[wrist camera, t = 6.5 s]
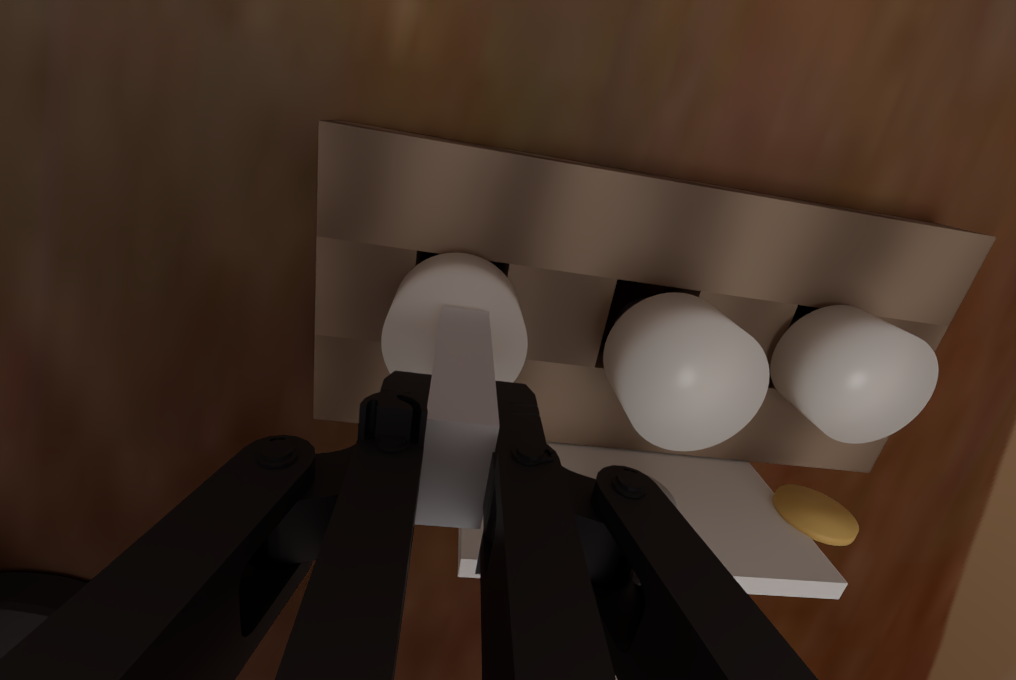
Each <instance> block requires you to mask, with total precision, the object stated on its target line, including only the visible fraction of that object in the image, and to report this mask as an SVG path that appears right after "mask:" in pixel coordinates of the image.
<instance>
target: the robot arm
mask: <svg viewBox="0 0 1016 680" xmlns="http://www.w3.org/2000/svg"><path fill="white" fill-rule="evenodd" d="M537 406H538V405H537V400H536V396H535V394H534V393H533V392H532V390H531V389H530V388H529V387H528V386H527V385H526V384H521V383H512V382H504V381H495V372H494V361H493V350H492V339H491V328H490V318H489V312H486V311H478V310H470V309H463V308H455V307H447V306H442V311H441V318H440V324H439V331H438V338H437V344H436V351H435V358H434V364H433V371H432V375H430V374H421V373H413V372H404V371H394V372H392V373H391V374H390V375H388V376H387V377H386V378H384V380H383V383H382V386H381V389H380V392H378V393H374V394H372V395H370V396H368V397H366V398H364V400H363V401H362V402H361V403H360V409H359V426H358V440H357V443H356V444H355V445H353V446H351V447H349V448H346V449H344V450H340V451H335V452H329V453H320V454H315V450H314V447H313V446H312V445H311V444H310V443H309V442H308V441H306V440H304V439H302V438H299V437H296V436H288V435H278V436H269V437H266V438H262V439H259V440H256V441H254V442H252V443H251V444H249V445H248V446H246V447H244V448H243V449H242V450H241V451H240V452H239V453H237V454H236V455H235V456H234V457H233V458H232V459H230V460H229V461H228V462H227V463H226V464H225V465H224V466H222V467H221V468H220V469H219V470H218V471H217V472H215V473H214V474H213V475H212V476H211V477H210V478H209V479H207V480H206V481H205V482H204V483H203V484H202V485H200V486H199V487H198V488H197V489H196V490H195V491H194V492H192V493H191V494H190V495H189V496H188V497H187V498H185V499H184V500H183V501H182V502H181V503H180V504H179V505H177V506H176V507H175V508H174V509H173V510H172V511H170V512H169V513H168V514H167V515H166V516H165V517H164V518H162V519H161V520H160V521H159V522H158V523H157V524H155V525H154V526H153V527H152V528H151V529H150V530H148V531H147V532H146V533H145V534H144V535H143V536H142V537H140V538H139V539H138V540H137V541H136V542H135V543H133V544H132V545H131V546H130V547H129V548H128V549H127V550H125V551H124V552H123V553H122V554H121V555H120V556H118V557H117V558H116V559H115V560H114V561H113V562H112V563H110V564H109V565H108V566H107V567H106V568H105V569H103V570H102V571H101V572H100V573H99V574H98V575H97V576H95V577H94V578H93V579H92V580H91V581H90V582H88V583H86V582H83V581H79V580H75V579H71V578H66V577H61V576H56V575H49V574H41V573H29V572H4V573H0V680H235V678H236V677H237V676H238V674H239V673H240V671H241V670H242V668H243V667H244V665H245V664H246V662H247V661H248V659H249V658H250V656H251V655H252V653H253V652H254V650H255V649H256V647H257V646H258V644H259V643H260V642H261V640H262V639H263V637H264V636H265V634H266V633H267V631H268V630H269V628H270V627H271V625H272V624H273V622H274V621H275V619H276V618H277V616H278V615H279V613H280V612H281V610H282V609H283V608H284V606H285V605H286V603H287V602H288V600H289V599H290V597H291V596H292V594H293V593H294V591H295V590H296V588H297V587H298V585H299V584H300V582H301V581H302V579H303V578H304V576H305V575H306V574H307V572H308V571H309V569H310V566H311V564H312V562H313V560H316V562H315V565H314V568H313V571H312V573H311V576H310V579H309V582H308V585H307V588H306V591H305V594H304V597H303V600H302V602H301V605H300V608H299V611H298V614H297V617H296V620H295V623H294V626H293V629H292V631H291V634H290V637H289V640H288V643H287V646H286V649H285V652H284V655H283V658H282V660H281V663H280V666H279V669H278V672H277V675H276V678H275V680H394V675H395V668H396V660H397V653H398V645H399V638H400V630H401V623H402V615H403V608H404V600H405V593H406V585H407V578H408V571H409V563H410V556H411V548H412V540H413V532H414V524H417V525H430V526H443V527H456V528H469V529H481V523H482V518H483V528H484V529H483V534H482V539H481V545H480V550H479V555H478V560H477V566H476V571H475V574H480V581H481V637H482V680H616V678H617V680H818V679H817V678H816V677H815V675H814V674H813V673H812V672H811V670H810V669H809V668H808V667H807V666H806V664H805V663H804V662H803V661H802V660H801V658H800V657H799V656H798V655H797V653H796V652H795V651H794V650H793V649H792V647H791V646H790V645H789V644H788V643H787V641H786V640H785V639H784V638H783V637H782V635H781V634H780V633H779V632H778V630H777V629H776V628H775V627H774V626H773V624H772V623H771V622H770V621H769V620H768V618H767V617H766V616H765V615H764V613H763V612H762V611H761V610H760V609H759V607H758V606H757V605H756V604H755V603H754V601H753V600H752V599H751V598H750V597H749V595H748V594H747V593H746V592H745V590H744V589H743V588H742V587H741V586H740V584H739V583H738V582H737V581H736V580H735V578H734V577H733V576H732V575H731V573H730V572H729V571H728V570H727V569H726V567H725V566H724V565H723V564H722V563H721V561H720V560H719V559H718V558H717V557H716V555H715V554H714V553H713V552H712V550H711V549H710V548H709V547H708V546H707V544H706V543H705V542H704V541H703V540H702V538H701V537H700V536H699V535H698V533H697V532H696V531H695V530H694V529H693V527H692V526H691V525H690V524H689V523H688V521H687V520H686V519H685V518H684V517H683V515H682V514H681V513H680V512H679V510H678V509H677V508H676V507H675V506H674V504H673V503H672V502H671V501H670V500H669V498H668V497H667V496H666V495H665V493H664V492H663V491H662V490H661V489H660V487H659V486H658V485H657V484H656V483H655V482H654V481H653V480H652V479H651V478H650V477H649V476H647V475H645V474H644V473H642V472H640V471H638V470H636V469H633V468H630V467H626V466H618V465H612V466H607V467H604V468H602V469H601V470H600V471H599V472H598V474H597V477H596V479H594V478H591V477H587V476H584V475H581V474H578V473H575V472H573V471H570V470H568V469H566V468H565V467H563V466H561V462H560V458H559V456H558V455H557V453H556V451H555V450H554V449H552V448H551V447H550V446H549V445H548V444H546V439H545V435H544V431H543V426H542V422H541V418H540V413H539V409H538V407H537ZM615 676H616V677H615Z"/></svg>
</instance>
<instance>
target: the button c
mask: <svg viewBox="0 0 1016 680" xmlns="http://www.w3.org/2000/svg"><path fill="white" fill-rule="evenodd" d="M770 373H771V379H772V382H773V384H774V387H775V388H776V390H777V391H778V392H779V393H780V394H781V395H782V396H783V397H784V398H785V399H786V400H787V401H788V402H790V403H791V404H792V405H793V406H794V407H795V408H796V409H797V410H799V411H800V412H801V413H802V414H803V415H804V416H805V417H806V418H808V419H809V420H810V421H811V422H812V423H813V424H814V425H816V426H817V427H818V428H819V429H820V430H821V431H822V432H823V433H825V434H826V435H827V436H829V437H830V438H832V439H834V440H837V441H840V442H844V443H851V444H859V443H867V442H872V441H876V440H879V439H882V438H884V437H887V436H889V435H891V434H893V433H895V432H896V431H898V430H900V429H901V428H903V427H904V426H905V425H907V424H908V423H909V422H910V421H912V420H913V419H914V418H915V417H916V416H917V415H918V414H919V413H920V412H921V411H922V409H923V408H924V407H925V405H926V404H927V402H928V401H929V399H930V398H931V396H932V394H933V391H934V389H935V386H936V383H937V378H938V362H937V358H936V355H935V353H934V351H933V350H932V348H931V347H930V346H929V345H928V344H927V343H926V342H925V341H924V340H922V339H920V338H919V337H917V336H915V335H912V334H910V333H908V332H906V331H904V330H902V329H900V328H898V327H896V326H894V325H892V324H890V323H888V322H886V321H884V320H882V319H880V318H878V317H876V316H873V315H871V314H869V313H867V312H865V311H863V310H861V309H859V308H856V307H853V306H849V305H832V306H827V307H823V308H820V309H817V310H815V311H812V312H810V313H809V314H807V313H806V312H804V311H802V310H800V309H796V311H795V314H794V316H793V319H792V321H791V324H790V326H789V329H788V330H787V331H786V332H785V333H784V335H783V336H782V337H781V339H780V340H779V342H778V343H777V345H776V347H775V350H774V352H773V355H772V359H771V365H770Z"/></svg>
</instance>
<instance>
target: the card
mask: <svg viewBox="0 0 1016 680" xmlns="http://www.w3.org/2000/svg"><path fill="white" fill-rule="evenodd" d="M546 444H548V445H549V446H550V447H551V448H552V449H554V450H555V451H556V453H557V455H558V456H559V458H560V462H561V466H563V467H565V468H566V469H568V470H570V471H573V472H575V473H578V474H581V475H584V476H587V477H591V478H594V479H596V477H597V474H598V472H599V471H600V470H601V469H602V468H604V467H607V466H612V465H618V466H626V467H630V468H633V469H636V470H638V471H640V472H642V473H644V474H645V475H647V476H649V477H650V478H651V479H652V480H653V481H654V482H655V483H656V484H657V485H658V486H659V487H660V489H661V490H662V491H663V492H664V493H665V495H666V496H667V497H668V498H669V500H670V501H671V502H672V503H673V504H674V506H675V507H676V508H677V509H678V510H679V512H680V513H681V514H682V515H683V517H684V518H685V519H686V520H687V521H688V523H689V524H690V525H691V526H692V527H693V529H694V530H695V531H696V532H697V533H698V535H699V536H700V537H701V538H702V540H703V541H704V542H705V543H706V544H707V546H708V547H709V548H710V549H711V550H712V552H713V553H714V554H715V555H716V557H717V558H718V559H719V560H720V561H721V563H722V564H723V565H724V566H725V567H726V569H727V570H728V571H729V572H730V573H731V575H732V576H733V577H734V578H735V580H736V581H737V582H738V583H739V584H740V586H741V587H742V588H743V589H744V590H745V592H746V593H747V594H758V595H775V596H792V597H809V598H826V599H839V598H840V596H841V595H842V593H843V591H844V589H845V588H846V586H847V584H848V583H847V582H846V580H845V579H844V578H843V577H842V576H841V574H840V573H839V572H838V571H837V569H836V568H835V567H834V566H833V565H832V563H831V562H830V561H829V560H828V558H827V557H826V556H825V555H824V554H823V552H822V551H821V550H820V549H819V547H818V546H817V545H816V544H815V543H814V541H813V540H812V539H814V540H816V541H819V542H822V543H825V544H829V545H835V546H845V545H849V544H851V543H852V542H853V541H854V539H855V537H856V536H857V534H858V532H859V526H858V523H857V521H856V519H855V518H854V517H853V515H852V514H851V513H850V512H849V511H848V510H847V509H846V508H844V507H843V506H842V505H841V504H839V503H838V502H837V501H835V500H833V499H832V498H830V497H828V496H827V495H825V494H823V493H821V492H818V491H816V490H813V489H811V488H808V487H804V486H800V485H792V484H788V485H782V486H780V487H778V488H777V490H776V492H775V494H774V492H773V491H772V490H771V489H770V487H769V486H768V485H767V484H766V483H765V481H764V480H763V479H762V478H761V476H760V475H759V474H758V473H757V472H756V470H755V469H754V468H753V467H752V465H751V464H750V463H749V462H748V461H743V460H733V459H722V458H712V457H702V456H691V455H681V454H671V453H660V452H650V451H640V450H629V449H619V448H608V447H598V446H588V445H577V444H567V443H557V442H546ZM483 529H484V528H483V518H482V523H481V529H469V528H459V546H458V577H470V578H480V574H475V571H476V566H477V560H478V555H479V550H480V545H481V539H482V534H483ZM811 538H812V539H811Z"/></svg>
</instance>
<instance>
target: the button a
mask: <svg viewBox="0 0 1016 680" xmlns="http://www.w3.org/2000/svg"><path fill="white" fill-rule="evenodd" d="M442 306H447V307H455V308H463V309H470V310H478V311H486V312H489V318H490V328H491V339H492V350H493V361H494V372H495V381H504V382H512V383H513V382H514V381H515V380H516V378H517V377H518V375H519V373H520V372H521V370H522V367H523V365H524V362H525V359H526V355H527V347H528V340H527V332H526V327H525V323H524V320H523V316H522V313H521V309H520V306H519V302H518V298H517V295H516V292H515V290H514V288H513V286H512V284H511V282H510V281H509V279H508V278H507V277H506V275H505V274H504V273H503V272H502V271H501V270H500V269H499V268H498V267H496V266H495V265H494V264H492V263H491V262H489V261H487V260H485V259H483V258H481V257H478V256H475V255H471V254H467V253H457V252H456V253H445V254H439V255H436V256H433V257H430V258H428V259H426V260H424V261H422V262H421V263H419V264H418V265H416V266H415V267H414V268H413V269H412V270H410V272H409V273H408V274H407V275H406V276H405V277H404V279H403V280H402V282H401V283H400V286H399V288H398V290H397V292H396V295H395V297H394V300H393V302H392V305H391V307H390V310H389V312H388V315H387V317H386V319H385V323H384V326H383V330H382V337H381V347H382V354H383V358H384V361H385V364H386V366H387V369H388V371H389V373H390V374H391V373H392V372H394V371H404V372H413V373H421V374H430V375H432V371H433V364H434V358H435V351H436V344H437V338H438V331H439V324H440V318H441V311H442Z"/></svg>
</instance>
